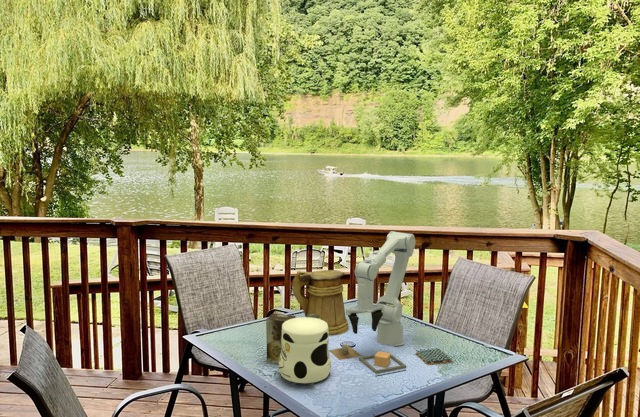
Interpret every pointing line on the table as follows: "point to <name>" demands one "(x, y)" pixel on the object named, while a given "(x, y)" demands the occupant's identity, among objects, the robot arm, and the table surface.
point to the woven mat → (433, 356)
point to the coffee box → (275, 336)
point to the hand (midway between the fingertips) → (364, 331)
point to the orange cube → (382, 359)
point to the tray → (384, 368)
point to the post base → (339, 352)
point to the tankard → (323, 297)
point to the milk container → (304, 351)
